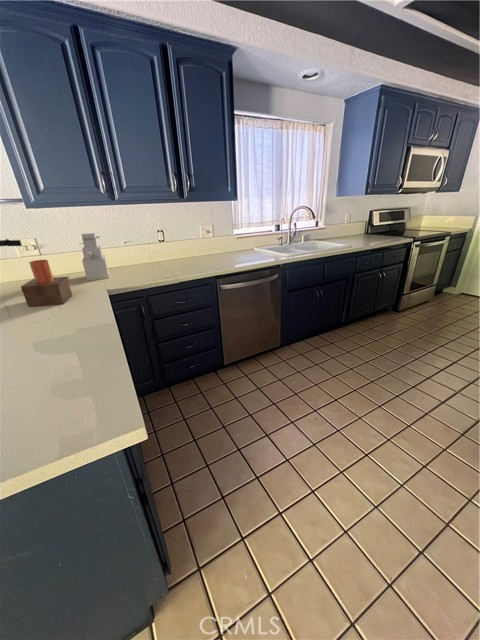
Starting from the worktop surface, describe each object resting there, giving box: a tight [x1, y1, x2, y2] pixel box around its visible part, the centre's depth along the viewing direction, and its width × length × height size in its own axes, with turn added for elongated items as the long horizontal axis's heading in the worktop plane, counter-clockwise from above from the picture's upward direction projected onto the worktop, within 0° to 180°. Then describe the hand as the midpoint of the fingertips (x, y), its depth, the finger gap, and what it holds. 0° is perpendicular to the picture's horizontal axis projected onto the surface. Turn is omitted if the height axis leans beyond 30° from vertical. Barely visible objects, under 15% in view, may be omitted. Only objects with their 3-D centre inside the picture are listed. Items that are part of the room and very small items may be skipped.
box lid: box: [20, 276, 70, 289], centre depth 133 cm, size 16×14×1 cm
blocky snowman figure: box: [79, 232, 110, 282], centre depth 173 cm, size 13×24×28 cm, turn 24°
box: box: [20, 278, 73, 308], centre depth 135 cm, size 16×14×10 cm
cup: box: [28, 259, 54, 283], centre depth 130 cm, size 7×7×10 cm
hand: (9, 245), depth 124 cm, fingers open, 13 cm apart
